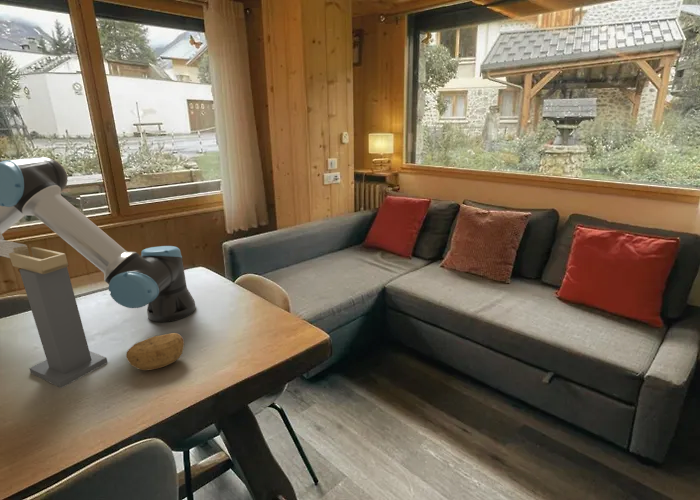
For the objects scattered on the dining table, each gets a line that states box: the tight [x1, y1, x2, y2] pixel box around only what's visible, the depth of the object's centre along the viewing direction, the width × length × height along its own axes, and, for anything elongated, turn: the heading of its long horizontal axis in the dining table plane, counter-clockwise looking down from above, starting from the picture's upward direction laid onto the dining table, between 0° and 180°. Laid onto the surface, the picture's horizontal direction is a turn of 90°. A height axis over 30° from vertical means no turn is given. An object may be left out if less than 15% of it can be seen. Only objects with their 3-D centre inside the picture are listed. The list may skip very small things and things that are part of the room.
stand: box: [9, 246, 109, 389], centre depth 104 cm, size 14×12×32 cm
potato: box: [125, 332, 185, 371], centre depth 108 cm, size 10×14×8 cm
